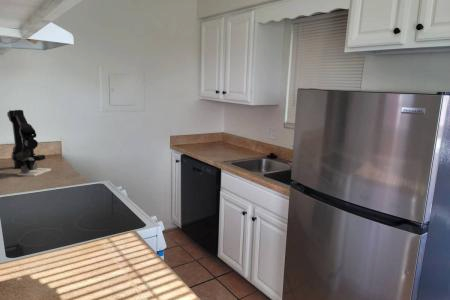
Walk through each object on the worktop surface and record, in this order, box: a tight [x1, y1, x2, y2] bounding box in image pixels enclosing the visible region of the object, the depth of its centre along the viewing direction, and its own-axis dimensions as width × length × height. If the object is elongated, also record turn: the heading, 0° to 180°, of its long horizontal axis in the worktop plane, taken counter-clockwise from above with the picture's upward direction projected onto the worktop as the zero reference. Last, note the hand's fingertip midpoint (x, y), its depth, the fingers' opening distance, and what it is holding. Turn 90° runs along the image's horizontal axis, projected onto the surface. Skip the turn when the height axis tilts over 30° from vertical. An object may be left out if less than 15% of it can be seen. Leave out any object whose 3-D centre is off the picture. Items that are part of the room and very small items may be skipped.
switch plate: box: [16, 167, 52, 177], centre depth 216 cm, size 12×16×1 cm
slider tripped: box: [20, 165, 30, 173], centre depth 212 cm, size 3×4×4 cm
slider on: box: [32, 161, 38, 170], centre depth 220 cm, size 3×4×4 cm
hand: (30, 170), depth 212 cm, fingers closed
